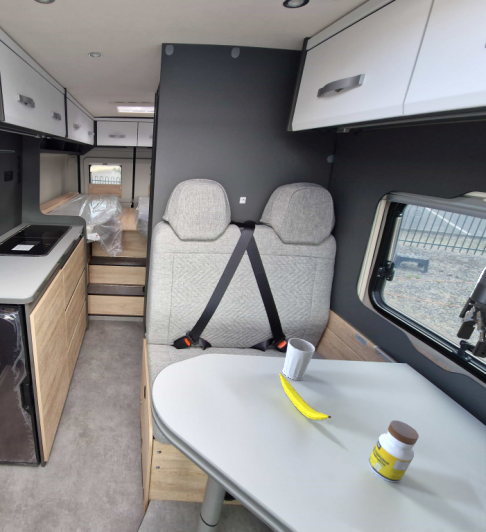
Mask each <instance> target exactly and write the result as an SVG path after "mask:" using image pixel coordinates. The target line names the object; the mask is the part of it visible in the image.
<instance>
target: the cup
mask: <svg viewBox="0 0 486 532" xmlns="http://www.w3.org/2000/svg"><path fill="white" fill-rule="evenodd" d="M315 352H316V347H315V346H314V344H313V343H311V342H310V341H308V340H305V339H302V338H299V337H291V338H289V339H288V341H287V347H286V353H285V359H284V364H283V368H282V373H283V375H284V374H285V375H286V376H285V375H284V376H285V377H287V378H288V377H289V378H288V379H290V378H291V379H290V380H292V379H294V380H293V381H301V380H303V378H304V375H305V374H306V371H307V369H308V367H309V364H310V362H311V360H312V358H313V356H314V353H315Z"/></svg>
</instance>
